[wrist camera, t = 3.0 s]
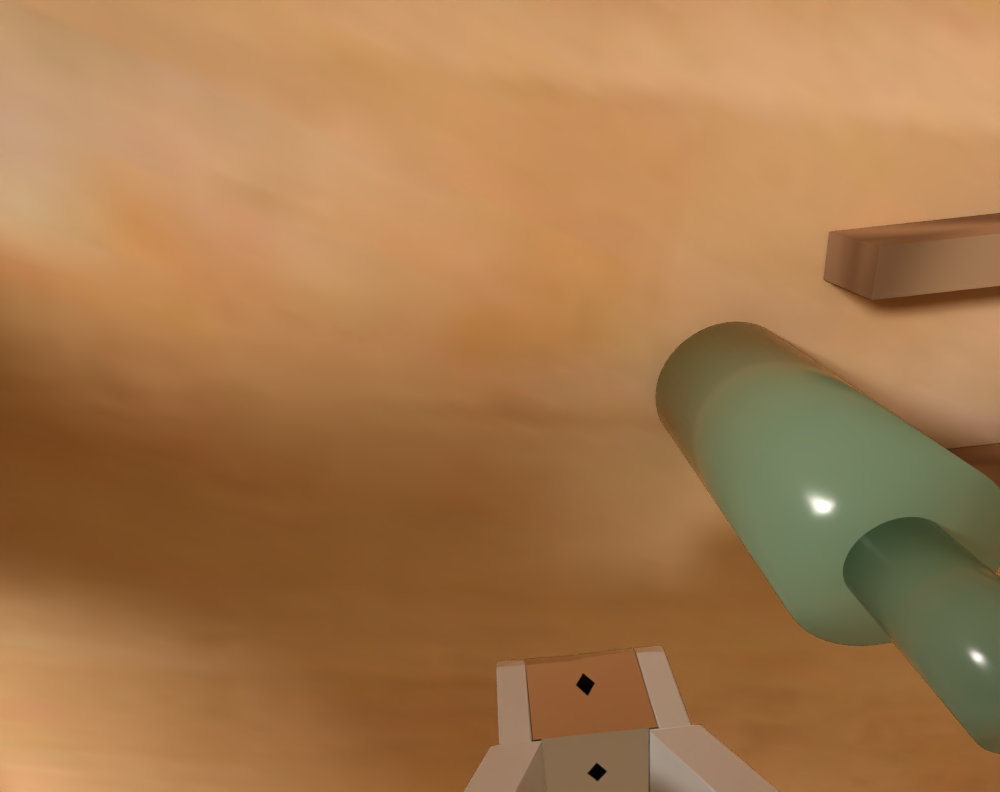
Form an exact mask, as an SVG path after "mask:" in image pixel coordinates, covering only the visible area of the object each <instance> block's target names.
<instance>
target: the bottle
mask: <svg viewBox="0 0 1000 792" xmlns="http://www.w3.org/2000/svg"><path fill="white" fill-rule="evenodd" d="M656 407H657V412H658V415H659V417H660V420H661V422H662V423H663V425H664V427H665V428H666V430H667V431H668V433H669V434H670V436H671V437H672V439H673V440H674V442H675V443H676V445H677V446H678V448H679V449H680V451H681V452H682V454H683V455H684V457H685V458H686V460H687V461H688V463H689V464H690V466H691V467H692V469H693V470H694V471H695V473H696V474H697V476H698V477H699V479H700V480H701V482H702V483H703V485H704V486H705V488H706V489H707V491H708V492H709V494H710V495H711V497H712V498H713V500H714V501H715V503H716V504H717V506H718V507H719V509H720V510H721V512H722V513H723V515H724V516H725V518H726V519H727V521H728V522H729V524H730V525H731V527H732V528H733V530H734V531H735V533H736V534H737V536H738V537H739V539H740V540H741V542H742V543H743V545H744V546H745V547H746V549H747V550H748V552H749V553H750V555H751V556H752V558H753V559H754V561H755V562H756V564H757V565H758V567H759V568H760V570H761V571H762V573H763V574H764V576H765V577H766V579H767V580H768V582H769V583H770V585H771V586H772V588H773V589H774V591H775V592H776V594H777V595H778V597H779V598H780V600H781V601H782V603H783V604H784V606H785V607H786V609H787V610H788V612H789V613H790V615H791V616H792V617H793V618H794V620H795V621H796V622H797V623H798V624H799V625H800V626H801V627H802V628H804V629H805V630H806V631H808V632H809V633H811V634H813V635H814V636H816V637H819V638H821V639H823V640H826V641H829V642H833V643H837V644H843V645H852V646H868V645H879V644H885V643H891V642H893V643H894V644H895V645H896V647H897V648H898V649H899V650H900V651H901V653H902V654H903V655H904V656H905V657H906V659H907V660H908V661H909V662H910V663H911V665H912V666H913V667H914V668H915V669H916V671H917V672H918V673H919V674H920V675H921V677H922V678H923V679H924V680H925V681H926V683H927V684H928V685H929V686H930V687H931V689H932V690H933V691H934V692H935V693H936V695H937V696H938V697H939V698H940V699H941V701H942V702H943V703H944V704H945V705H946V707H947V708H948V709H949V710H950V712H951V713H952V714H953V715H954V716H955V718H956V719H957V720H958V721H959V722H960V724H961V725H962V726H963V727H964V728H965V730H966V731H967V732H968V733H969V734H970V736H971V737H972V738H973V739H974V740H975V742H976V743H977V744H978V745H980V746H981V747H982V748H984V749H986V750H988V751H991V752H994V753H998V754H1000V576H998V575H997V574H996V571H997V570H998V568H999V566H1000V489H999V487H998V486H997V485H996V484H995V483H994V482H993V481H992V480H991V479H989V478H988V477H987V476H986V475H984V474H983V473H981V472H980V471H978V470H977V469H975V468H974V467H972V466H971V465H969V464H968V463H966V462H965V461H963V460H962V459H961V458H959V457H958V456H956V455H955V454H953V453H952V452H950V451H949V450H947V449H946V448H944V447H943V446H941V445H940V444H938V443H937V442H935V441H934V440H932V439H931V438H929V437H928V436H926V435H925V434H923V433H922V432H920V431H919V430H917V429H916V428H914V427H913V426H911V425H910V424H908V423H907V422H905V421H904V420H902V419H901V418H899V417H898V416H896V415H895V414H893V413H892V412H890V411H889V410H887V409H886V408H884V407H883V406H881V405H880V404H878V403H877V402H875V401H874V400H873V399H871V398H870V397H868V396H867V395H865V394H864V393H862V392H861V391H859V390H858V389H856V388H855V387H853V386H852V385H850V384H849V383H847V382H846V381H844V380H843V379H841V378H840V377H838V376H837V375H835V374H834V373H832V372H831V371H829V370H828V369H826V368H825V367H823V366H822V365H820V364H819V363H817V362H816V361H814V360H813V359H811V358H810V357H808V356H807V355H805V354H804V353H802V352H801V351H799V350H798V349H796V348H795V347H793V346H792V345H790V344H789V343H787V342H786V341H785V340H783V339H782V338H780V337H779V336H777V335H776V334H774V333H773V332H771V331H769V330H767V329H766V328H764V327H761V326H759V325H756V324H752V323H747V322H727V323H721V324H717V325H714V326H711V327H708V328H706V329H703V330H701V331H699V332H698V333H696V334H694V335H692V336H691V337H690V338H688V339H687V340H685V341H684V342H683V343H682V344H681V345H680V346H679V347H678V348H677V349H676V350H675V351H674V352H673V353H672V354H671V356H670V357H669V359H668V360H667V362H666V363H665V365H664V367H663V369H662V371H661V373H660V376H659V379H658V383H657V387H656Z"/></svg>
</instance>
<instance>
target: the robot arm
mask: <svg viewBox="0 0 1000 792" xmlns="http://www.w3.org/2000/svg"><path fill="white" fill-rule="evenodd" d="M525 662H526V666H525ZM526 674H527V675H526ZM496 675H497V702H498V729H499V745H494V746H490V748H489V750H488V751H487V753H486V755H485V756H484V758H483V760H482V761H481V763H480V765H479V766H478V768H477V770H476V771H475V773H474V775H473V776H472V778H471V780H470V781H469V783H468V785H467V786H466V788H465V790H464V791H463V792H779V791H778V790H777V789H776V788H775V787H773V786H772V785H771V784H770V783H769V782H768V781H766V780H765V779H764V778H763V777H762V776H761V775H759V774H758V773H757V772H756V771H755V770H753V769H752V768H751V767H750V766H749V765H748V764H746V763H745V762H744V761H743V760H742V759H741V758H739V757H738V756H737V755H736V754H735V753H734V752H732V751H731V750H730V749H729V748H728V747H726V746H725V745H724V744H723V743H722V742H721V741H719V740H718V739H717V738H716V737H715V736H714V735H712V734H711V733H710V732H709V731H708V730H706V729H705V728H704V727H703V726H702V725H701V724H700V725H692V724H691V721H690V718H689V716H688V713H687V710H686V708H685V705H684V702H683V699H682V697H681V694H680V691H679V689H678V686H677V683H676V680H675V678H674V675H673V672H672V670H671V667H670V664H669V661H668V659H667V656H666V653H665V651H664V649H663V648H662V647H661V645H656V646H647V647H638V648H633V649H632V648H626V649H618V650H609V651H601V652H592V653H583V654H578V655H570V656H556V657H543V658H530V659H523V660H510V661H498V662H497V668H496Z"/></svg>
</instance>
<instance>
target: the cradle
mask: <svg viewBox="0 0 1000 792" xmlns="http://www.w3.org/2000/svg"><path fill="white" fill-rule="evenodd" d="M824 280H826V281H828V282H831V283H833V284H835V285H838V286H840V287H842V288H845V289H847V290H849V291H852V292H854V293H856V294H859V295H861V296H863V297H866V298H868V299H870V300H877V299H886V298H895V297H904V296H913V295H922V294H931V293H939V292H948V291H957V290H966V289H975V288H984V287H993V286H1000V213H996V214H987V215H978V216H969V217H960V218H951V219H942V220H933V221H923V222H914V223H905V224H896V225H887V226H878V227H869V228H860V229H851V230H842V231H832V232H829V240H828V248H827V256H826V264H825V272H824ZM947 450H949V451H950V452H952V453H953V454H955V455H956V456H958V457H959V458H961V459H962V460H963V461H965V462H966V463H968V464H969V465H971V466H972V467H974V468H975V469H977V470H978V471H980V472H981V473H983V474H984V475H986V476H987V477H988V478H989V479H991V480H992V481H993V482H994V483H995V484H996V485H997V486H998V487H999V489H1000V443H999V444H990V445H982V446H973V447H964V448H956V449H947Z"/></svg>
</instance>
